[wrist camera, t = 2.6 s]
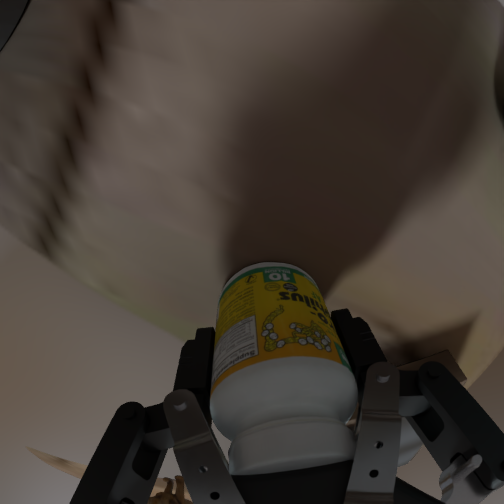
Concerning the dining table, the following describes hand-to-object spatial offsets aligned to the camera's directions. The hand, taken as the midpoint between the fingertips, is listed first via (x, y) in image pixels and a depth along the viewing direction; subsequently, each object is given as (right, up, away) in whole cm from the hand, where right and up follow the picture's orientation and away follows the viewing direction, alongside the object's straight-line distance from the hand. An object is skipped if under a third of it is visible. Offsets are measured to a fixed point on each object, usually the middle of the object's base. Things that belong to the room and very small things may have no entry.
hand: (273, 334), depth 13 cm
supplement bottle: (0, +1, +2) cm, 3 cm away
